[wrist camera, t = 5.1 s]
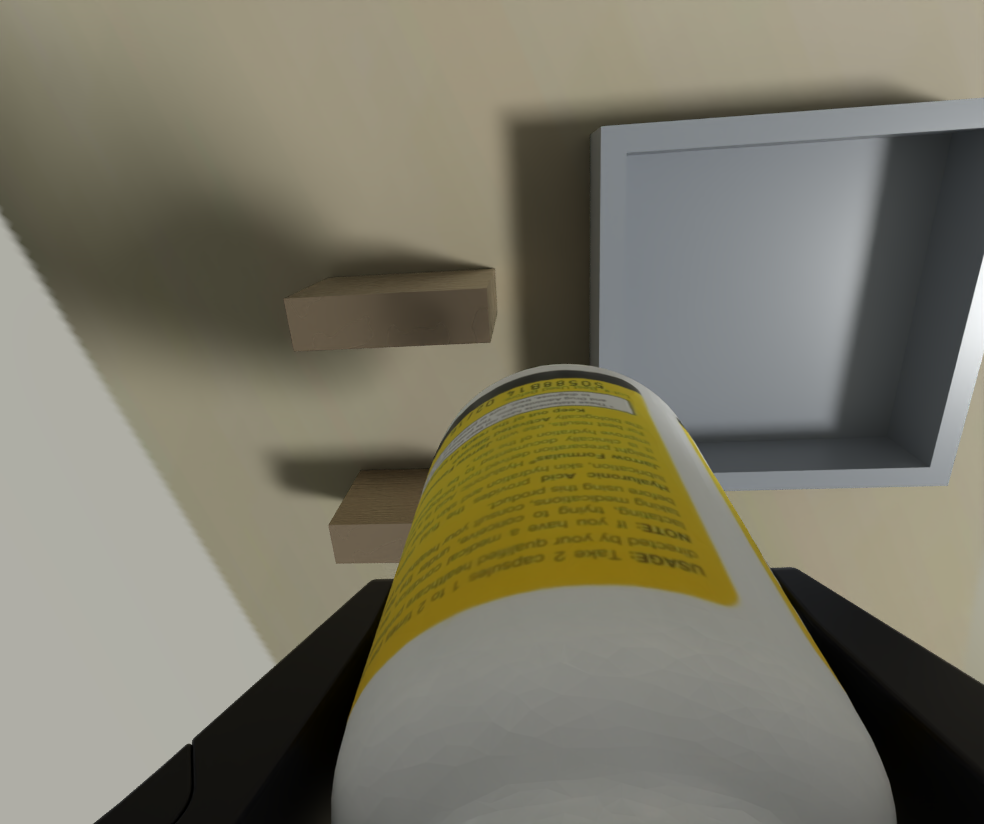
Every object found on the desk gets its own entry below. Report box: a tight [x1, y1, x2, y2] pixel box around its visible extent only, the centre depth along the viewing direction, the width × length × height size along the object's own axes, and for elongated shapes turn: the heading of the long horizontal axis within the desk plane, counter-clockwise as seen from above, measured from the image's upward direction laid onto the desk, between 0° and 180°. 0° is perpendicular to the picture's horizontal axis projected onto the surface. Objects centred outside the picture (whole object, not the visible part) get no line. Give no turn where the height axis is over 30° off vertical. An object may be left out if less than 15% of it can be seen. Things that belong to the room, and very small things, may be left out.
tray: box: [590, 98, 984, 491], centre depth 18 cm, size 11×11×3 cm
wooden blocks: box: [284, 268, 497, 564], centre depth 20 cm, size 9×6×4 cm, turn 3°
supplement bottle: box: [331, 364, 897, 824], centre depth 7 cm, size 5×5×10 cm
